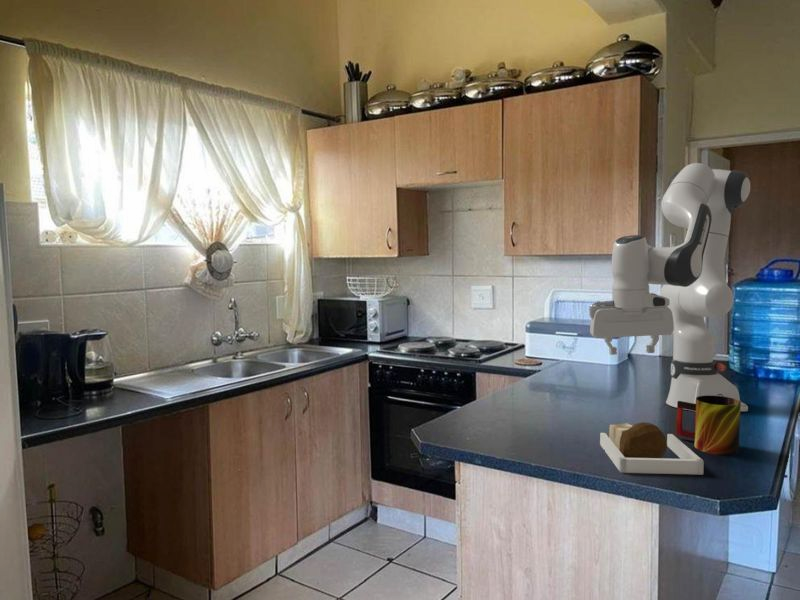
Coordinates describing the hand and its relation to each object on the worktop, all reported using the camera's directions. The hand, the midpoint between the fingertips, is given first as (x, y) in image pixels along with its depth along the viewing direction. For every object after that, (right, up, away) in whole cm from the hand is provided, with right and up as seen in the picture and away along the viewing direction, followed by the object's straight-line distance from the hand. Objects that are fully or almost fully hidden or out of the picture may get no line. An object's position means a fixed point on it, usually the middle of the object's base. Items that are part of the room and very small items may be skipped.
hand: (631, 353), depth 157 cm
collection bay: (-2, -23, -13) cm, 27 cm away
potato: (-4, -24, -15) cm, 28 cm away
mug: (+16, -23, -6) cm, 28 cm away
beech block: (-3, -20, -8) cm, 22 cm away
